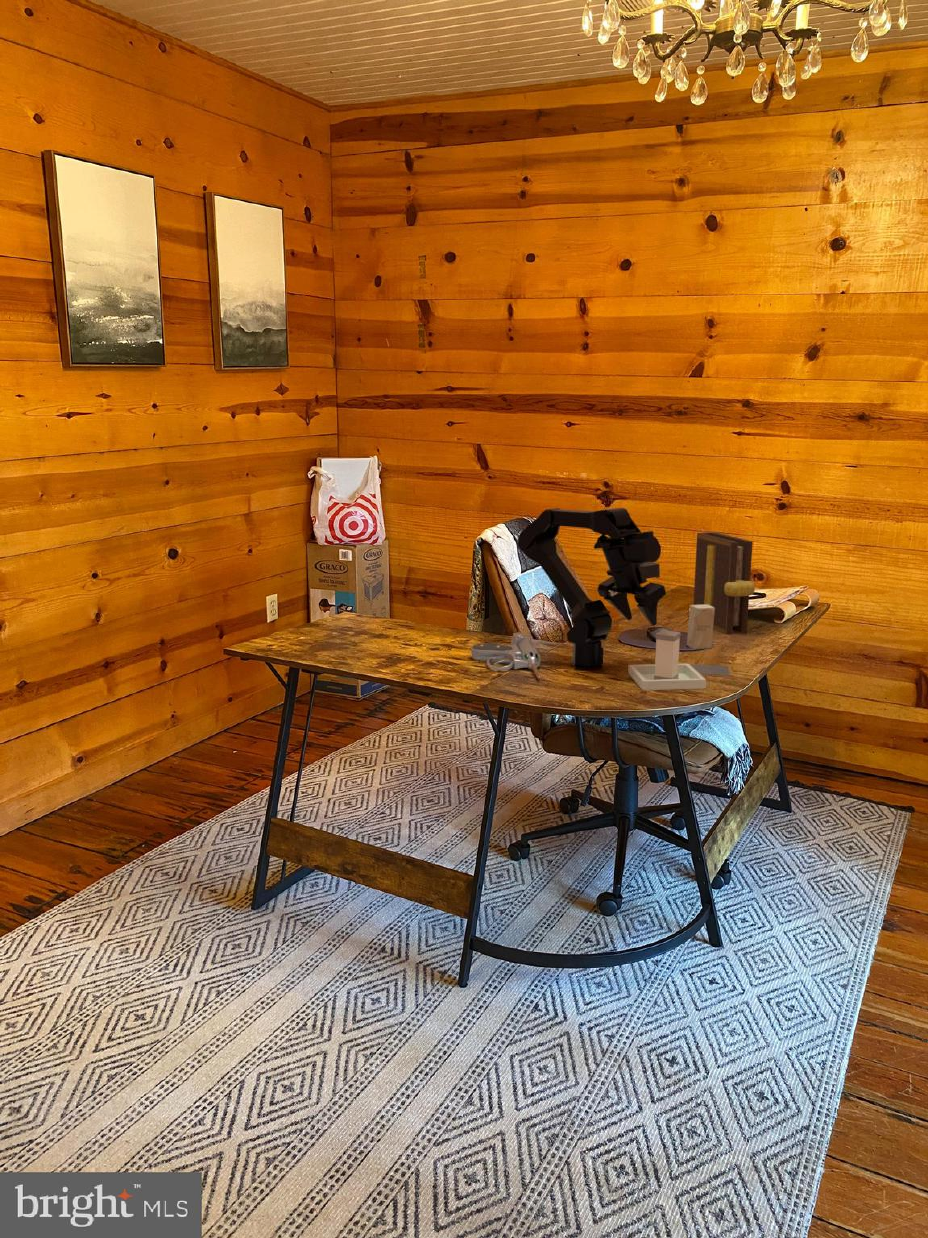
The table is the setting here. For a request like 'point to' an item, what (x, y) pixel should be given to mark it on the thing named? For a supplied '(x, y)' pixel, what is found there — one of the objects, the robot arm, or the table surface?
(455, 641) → the table surface
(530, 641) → the toy pistol
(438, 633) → the table surface
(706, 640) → the box
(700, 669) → the holder plate
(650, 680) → the parts tray
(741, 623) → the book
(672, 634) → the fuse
